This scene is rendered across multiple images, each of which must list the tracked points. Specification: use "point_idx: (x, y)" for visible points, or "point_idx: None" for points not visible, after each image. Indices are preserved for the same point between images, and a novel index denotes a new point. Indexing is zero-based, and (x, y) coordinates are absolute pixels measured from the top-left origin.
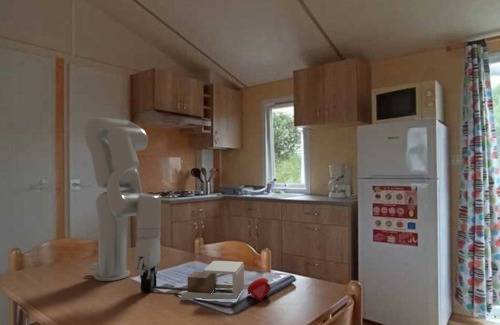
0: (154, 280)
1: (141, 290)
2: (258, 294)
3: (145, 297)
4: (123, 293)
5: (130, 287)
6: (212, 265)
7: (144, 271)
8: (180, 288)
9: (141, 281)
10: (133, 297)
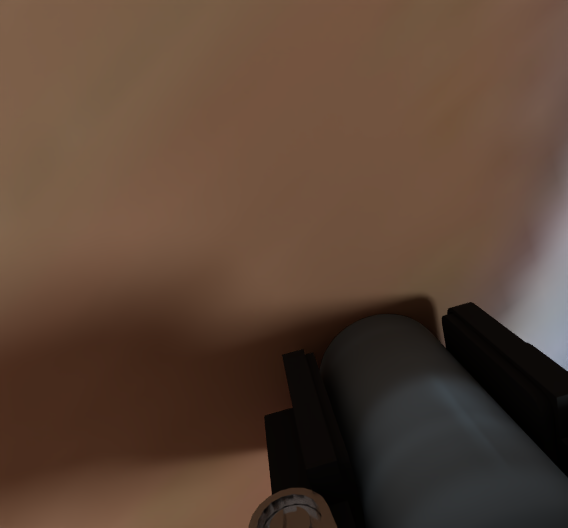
0: None
1: (285, 359)
2: None
3: (184, 482)
4: (152, 140)
5: (402, 36)
6: None
7: (513, 513)
8: None
9: (300, 442)
10: (112, 372)
